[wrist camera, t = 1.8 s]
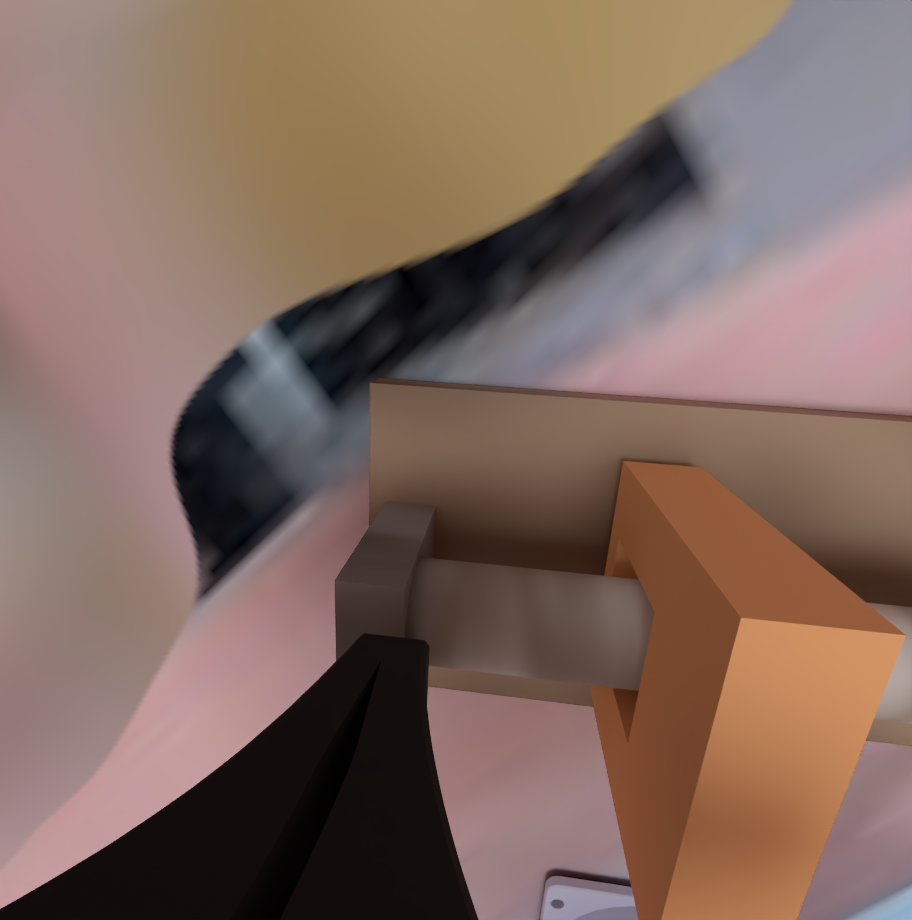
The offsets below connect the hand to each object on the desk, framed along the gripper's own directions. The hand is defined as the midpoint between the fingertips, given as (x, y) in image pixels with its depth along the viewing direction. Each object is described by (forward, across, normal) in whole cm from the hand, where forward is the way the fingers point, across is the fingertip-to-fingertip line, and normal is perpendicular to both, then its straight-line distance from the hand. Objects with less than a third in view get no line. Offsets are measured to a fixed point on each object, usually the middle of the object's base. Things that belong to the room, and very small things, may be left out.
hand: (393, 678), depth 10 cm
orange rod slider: (+5, -6, 0) cm, 8 cm away
